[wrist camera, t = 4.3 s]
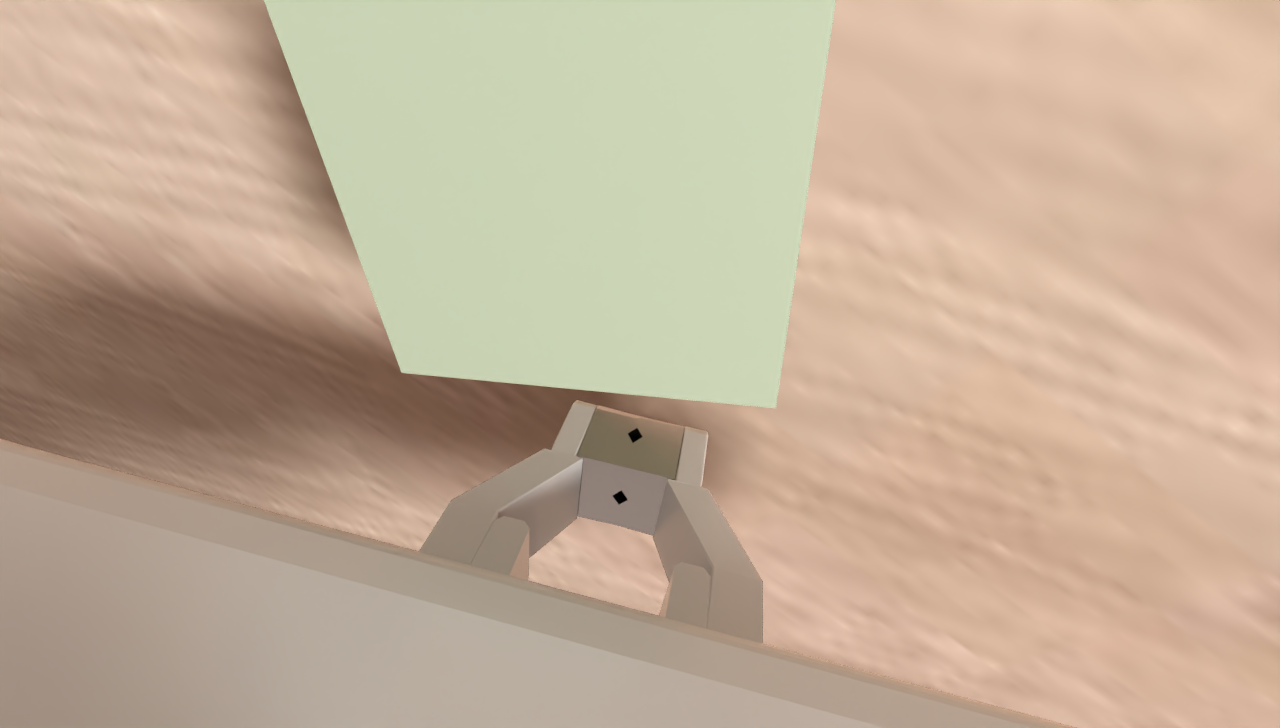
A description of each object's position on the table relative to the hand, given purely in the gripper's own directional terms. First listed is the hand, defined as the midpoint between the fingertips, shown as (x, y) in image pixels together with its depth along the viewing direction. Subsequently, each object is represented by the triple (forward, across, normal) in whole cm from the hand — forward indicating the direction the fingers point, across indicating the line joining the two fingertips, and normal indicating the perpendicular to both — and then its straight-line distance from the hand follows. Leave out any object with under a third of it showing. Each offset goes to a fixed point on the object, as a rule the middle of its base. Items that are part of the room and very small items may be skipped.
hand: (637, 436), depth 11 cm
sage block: (+3, +1, -6) cm, 7 cm away
